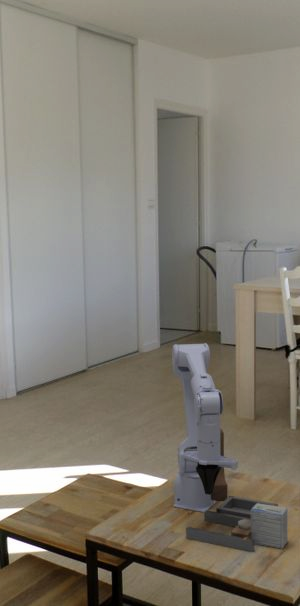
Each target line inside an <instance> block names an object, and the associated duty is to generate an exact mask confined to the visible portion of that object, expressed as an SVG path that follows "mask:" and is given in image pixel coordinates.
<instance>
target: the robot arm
mask: <svg viewBox="0 0 300 606" xmlns="http://www.w3.org/2000/svg"><path fill="white" fill-rule="evenodd" d="M210 350H211V349H210V346H209V345H208V343H206V342H203V343H189V344H188V343H187V344H186V343H185V344H176V343H174V344H173V346H172V348H171V359H172V360H171V361H172V371H173V374H174V377H176V378H179V379H180V382H181V386H182V395H183V407H184V419H185V429H186V431H185V432H186V438H185V439H183V440H182V441H181V442H180V443H179V445H178V447H177V466H178V467H177V468H178V472H177V473H176V475H175V478H174V485H173V489H174V490H173V494H174V497H173V499H174V501H173V502H174V504H173V505H172V506H173V508H179V509H184V510H190V511H194V512H199V513H205V511H206V510H208V511H210V509H211V508H212V507H213V506H214V505H215V504H216V503H217V500H211V494H212V493H213V489H214V485H215V481H216V478H217V476H218V473H219V471H220V469H221V468H222V467H224V469H231V470H232V471H236V470H237V469H238V468H239V466H238V465H239V460H238V459H233V458H230V457H227V456H225V455H224V456H221V455H220V428H221V415H223V413H224V412H223V411H224V399H223V394H222V392H221V390H219V389H216V385H215V381H214V380H213V377H212V376H211V375H210V373H207V372H208V369H209V365H210V361H211V351H210Z"/></svg>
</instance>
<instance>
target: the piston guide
mask: <svg viewBox="0 0 300 606" xmlns="http://www.w3.org/2000/svg"><path fill="white" fill-rule="evenodd" d="M244 518H245V519H251V518H246V517H241V516H235V515H230V514H225V513H219V512H216V511H212V510H206V511H205V512H204V522H207V523H212V524H213V523H214V524H218V525H223V526H228V527H233V528H235V527H236V526H237V525H238V521H240V520H243V519H244ZM185 538H186V539H188V540H194V541H197V542H202V543H206V544H207V543H208V544H213V545H216V546H222V547H227V548H231V549H237V550H241V551H247V552H251V553H253V552H254V551H255V544H254V540H253V539H248V537H245V538H243V537H238V536H233V535H231V534H226V533H222V532H217V531H212V530H207V529H203V528H202V529H201V528H197V527H192V526H187V527H186V529H185Z"/></svg>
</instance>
